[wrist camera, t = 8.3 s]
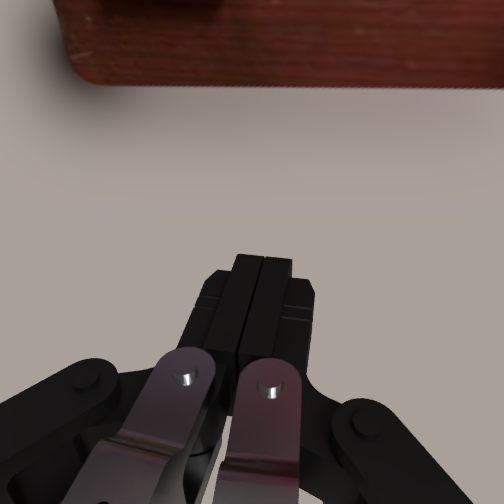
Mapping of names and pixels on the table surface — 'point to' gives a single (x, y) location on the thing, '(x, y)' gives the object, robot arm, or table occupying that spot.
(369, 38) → the table surface
